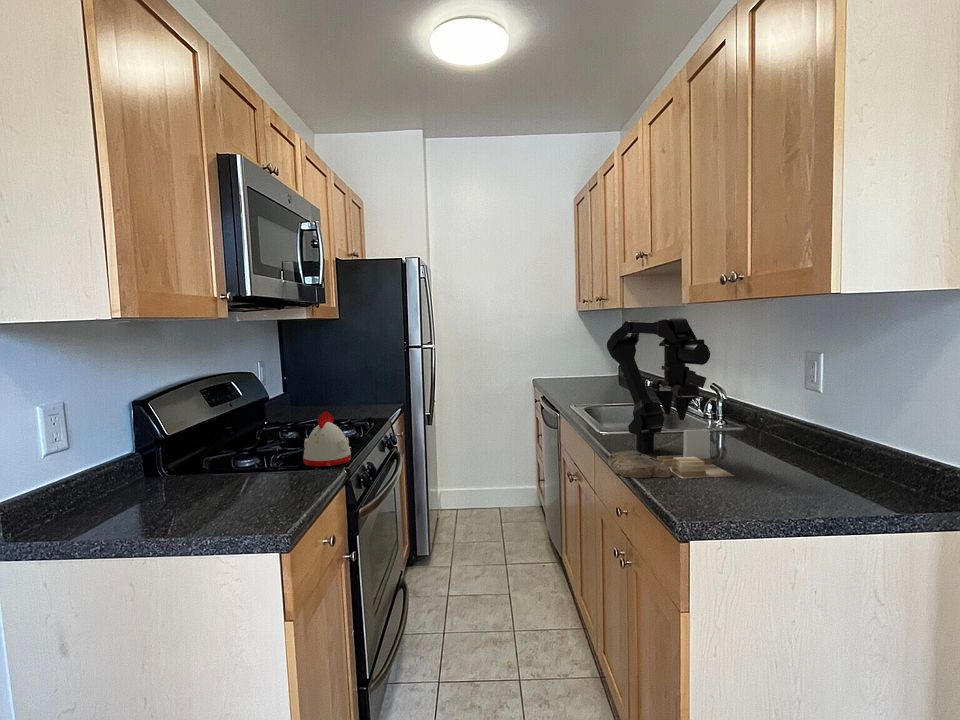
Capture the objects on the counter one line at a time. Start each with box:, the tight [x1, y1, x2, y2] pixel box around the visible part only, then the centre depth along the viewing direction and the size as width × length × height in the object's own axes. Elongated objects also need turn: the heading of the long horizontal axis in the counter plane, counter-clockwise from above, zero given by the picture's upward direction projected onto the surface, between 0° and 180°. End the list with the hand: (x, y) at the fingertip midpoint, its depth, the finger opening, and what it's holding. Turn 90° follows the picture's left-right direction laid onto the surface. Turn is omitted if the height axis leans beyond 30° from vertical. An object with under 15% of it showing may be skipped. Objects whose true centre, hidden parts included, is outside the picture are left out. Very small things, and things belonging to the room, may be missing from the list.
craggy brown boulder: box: [607, 449, 673, 479], centre depth 149 cm, size 14×5×20 cm
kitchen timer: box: [303, 411, 352, 467], centre depth 166 cm, size 14×14×15 cm
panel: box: [682, 428, 711, 459], centre depth 152 cm, size 2×7×9 cm, turn 94°
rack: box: [656, 454, 735, 479], centre depth 147 cm, size 18×14×2 cm
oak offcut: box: [672, 462, 705, 472], centre depth 142 cm, size 6×6×1 cm
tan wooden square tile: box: [672, 466, 706, 478], centre depth 142 cm, size 6×6×1 cm
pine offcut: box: [673, 457, 704, 467], centre depth 142 cm, size 5×6×1 cm
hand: (674, 417), depth 155 cm, fingers open, 9 cm apart
